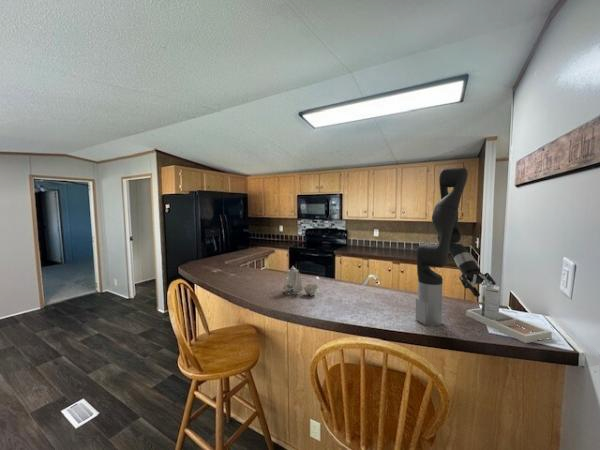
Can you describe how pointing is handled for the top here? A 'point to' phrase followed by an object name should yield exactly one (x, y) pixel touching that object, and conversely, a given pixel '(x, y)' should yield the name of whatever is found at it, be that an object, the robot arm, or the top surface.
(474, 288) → the robot arm
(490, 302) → the syrup box
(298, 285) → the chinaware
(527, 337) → the two-slot holder
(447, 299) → the top surface
